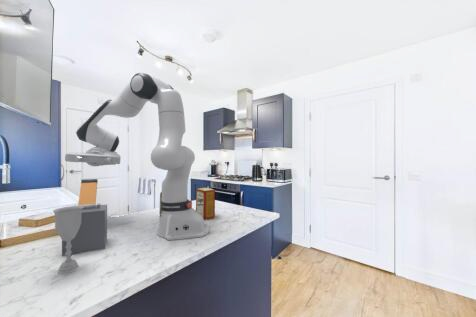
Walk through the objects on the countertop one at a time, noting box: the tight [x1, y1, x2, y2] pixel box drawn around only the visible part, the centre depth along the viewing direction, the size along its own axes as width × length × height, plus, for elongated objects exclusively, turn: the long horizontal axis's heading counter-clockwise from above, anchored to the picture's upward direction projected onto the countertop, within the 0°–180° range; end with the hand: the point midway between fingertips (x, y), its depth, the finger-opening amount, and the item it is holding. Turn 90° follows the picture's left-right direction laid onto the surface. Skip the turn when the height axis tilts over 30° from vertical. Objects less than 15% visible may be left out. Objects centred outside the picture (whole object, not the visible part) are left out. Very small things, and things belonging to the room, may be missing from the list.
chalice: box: [52, 205, 83, 275], centre depth 60 cm, size 7×7×18 cm
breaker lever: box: [77, 178, 98, 209], centre depth 77 cm, size 2×5×12 cm
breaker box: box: [61, 203, 108, 257], centre depth 75 cm, size 10×12×15 cm
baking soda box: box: [195, 187, 216, 221], centre depth 113 cm, size 10×6×16 cm
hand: (93, 160), depth 85 cm, fingers open, 8 cm apart
